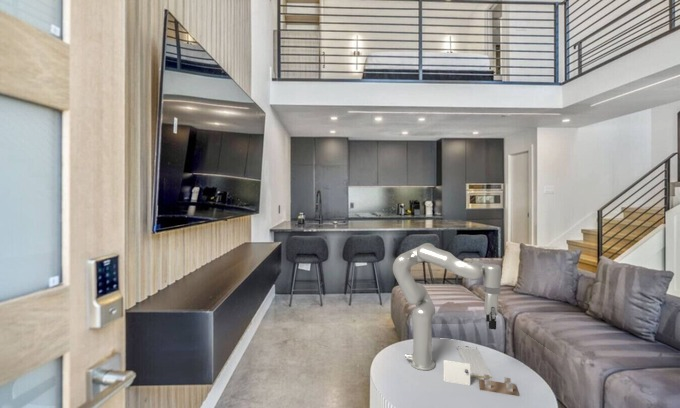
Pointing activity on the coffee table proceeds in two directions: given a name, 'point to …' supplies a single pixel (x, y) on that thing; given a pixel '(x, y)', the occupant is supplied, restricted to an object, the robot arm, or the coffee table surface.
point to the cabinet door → (457, 372)
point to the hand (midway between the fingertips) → (490, 325)
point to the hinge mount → (498, 386)
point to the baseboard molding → (474, 362)
